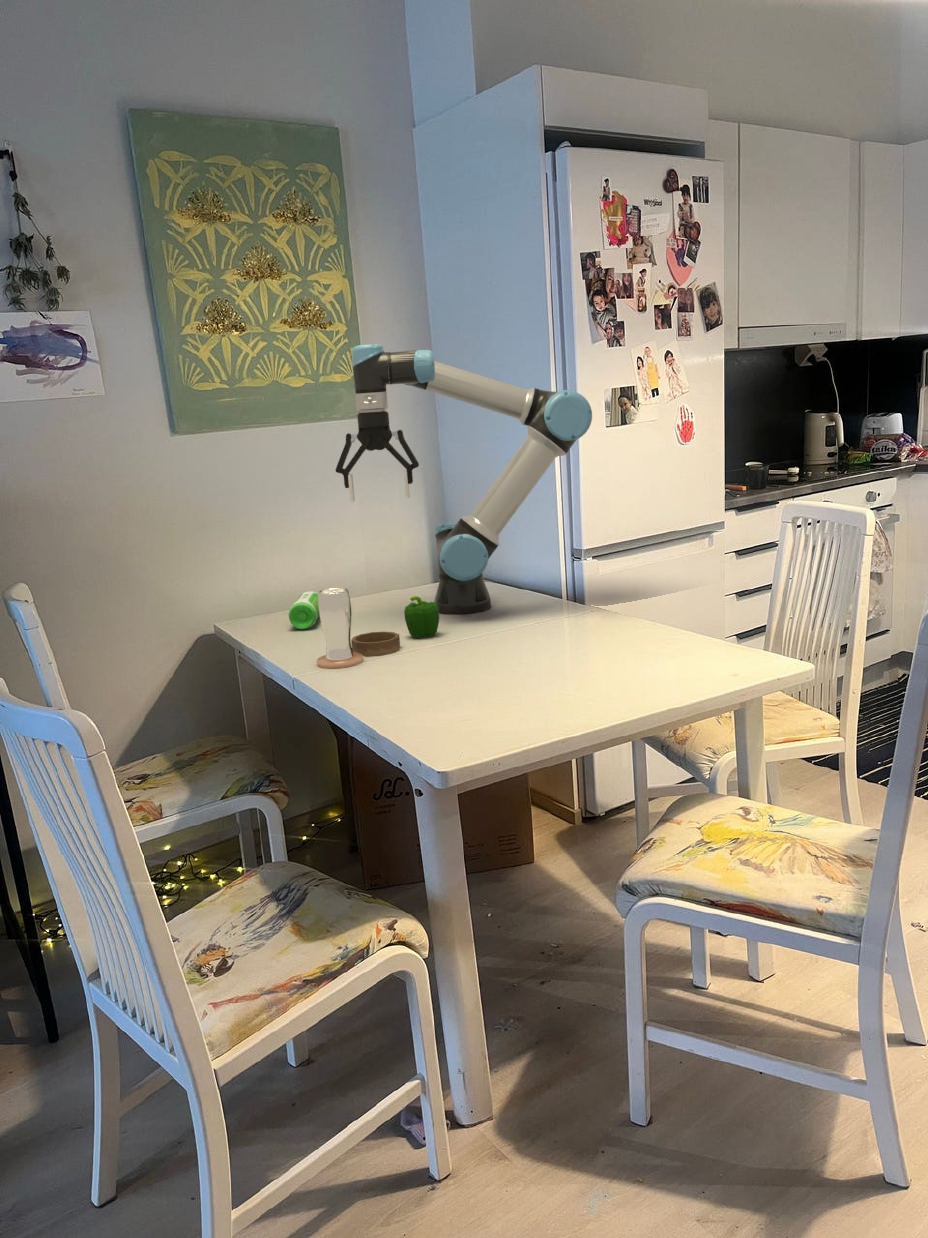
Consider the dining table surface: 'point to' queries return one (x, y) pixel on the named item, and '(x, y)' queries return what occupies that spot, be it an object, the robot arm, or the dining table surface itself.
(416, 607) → the bell pepper
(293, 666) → the dining table surface
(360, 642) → the walnut collar
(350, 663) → the pinkish-brown smooth disc
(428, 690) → the dining table surface
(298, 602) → the speaker
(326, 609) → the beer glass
